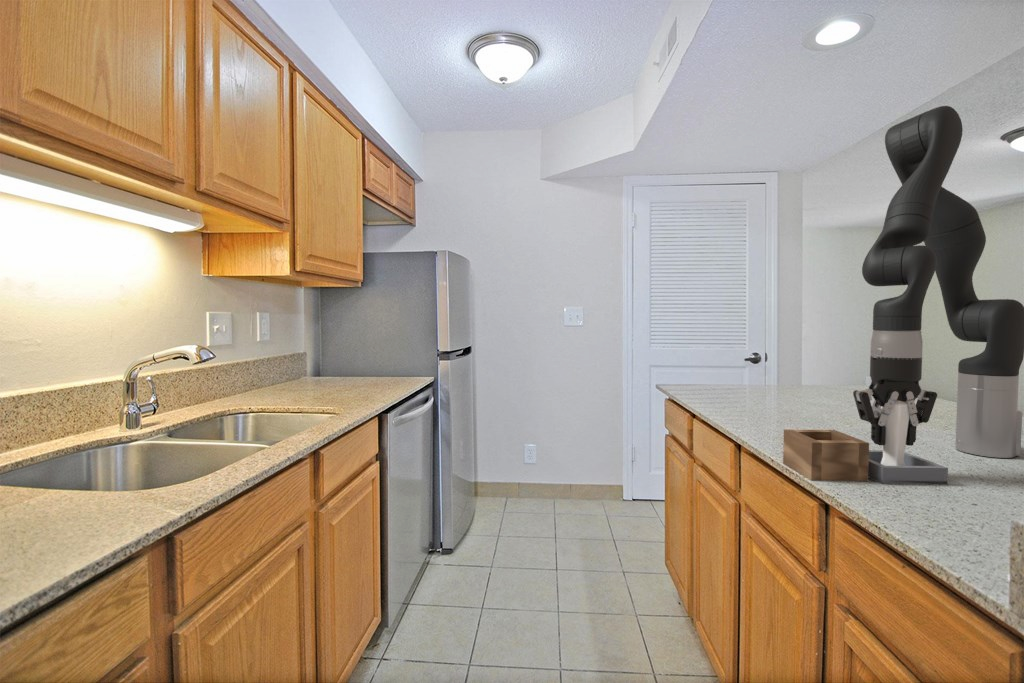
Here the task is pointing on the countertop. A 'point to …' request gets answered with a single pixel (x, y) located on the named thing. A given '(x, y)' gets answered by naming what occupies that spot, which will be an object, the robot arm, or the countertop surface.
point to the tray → (906, 470)
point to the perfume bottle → (896, 435)
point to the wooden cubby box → (826, 455)
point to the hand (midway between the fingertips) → (892, 444)
